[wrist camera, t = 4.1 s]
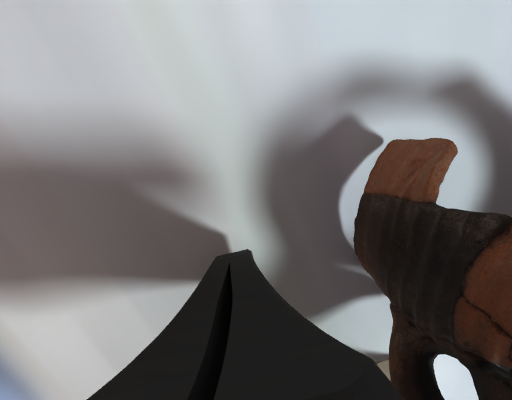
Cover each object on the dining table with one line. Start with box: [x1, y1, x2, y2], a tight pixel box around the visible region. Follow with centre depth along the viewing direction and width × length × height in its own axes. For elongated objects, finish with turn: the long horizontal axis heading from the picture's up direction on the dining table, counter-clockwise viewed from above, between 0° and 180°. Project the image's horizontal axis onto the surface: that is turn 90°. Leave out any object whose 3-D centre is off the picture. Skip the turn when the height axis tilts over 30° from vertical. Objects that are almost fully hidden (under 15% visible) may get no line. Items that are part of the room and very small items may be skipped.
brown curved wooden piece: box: [354, 138, 512, 400], centre depth 9 cm, size 12×9×8 cm
